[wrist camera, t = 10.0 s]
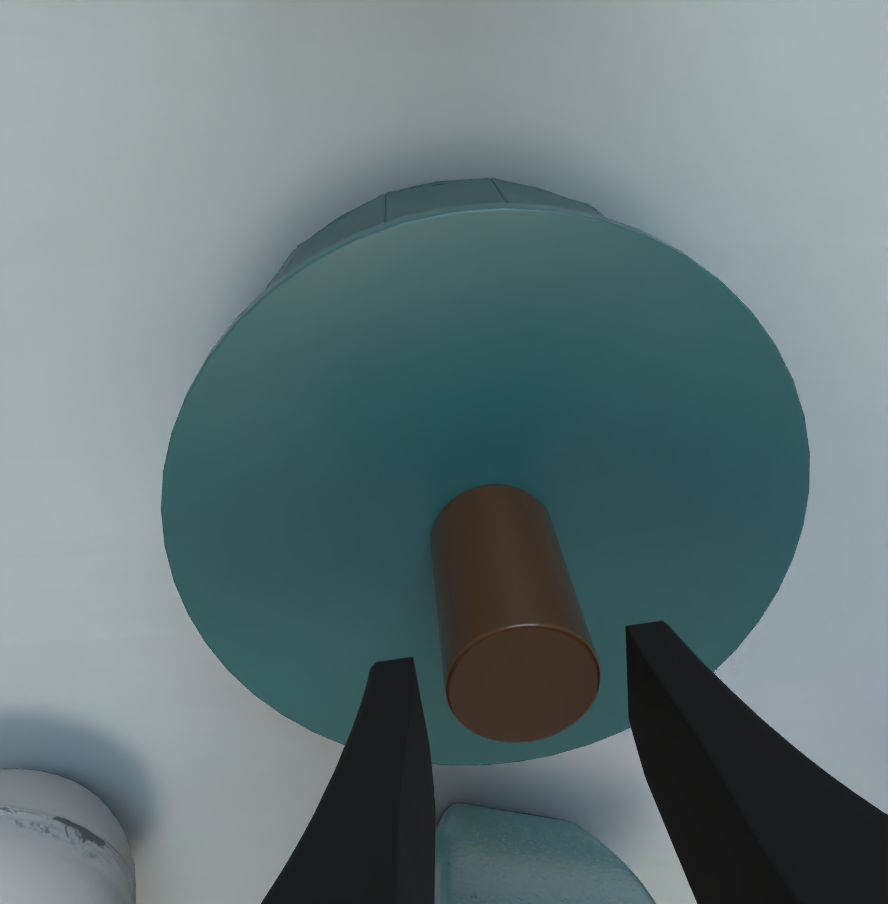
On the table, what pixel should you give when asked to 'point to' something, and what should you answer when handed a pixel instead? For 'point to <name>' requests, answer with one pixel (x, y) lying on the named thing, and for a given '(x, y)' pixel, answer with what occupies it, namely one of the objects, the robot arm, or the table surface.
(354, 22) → the table surface
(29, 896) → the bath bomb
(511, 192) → the tin
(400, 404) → the tin lid
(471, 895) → the flower pot
